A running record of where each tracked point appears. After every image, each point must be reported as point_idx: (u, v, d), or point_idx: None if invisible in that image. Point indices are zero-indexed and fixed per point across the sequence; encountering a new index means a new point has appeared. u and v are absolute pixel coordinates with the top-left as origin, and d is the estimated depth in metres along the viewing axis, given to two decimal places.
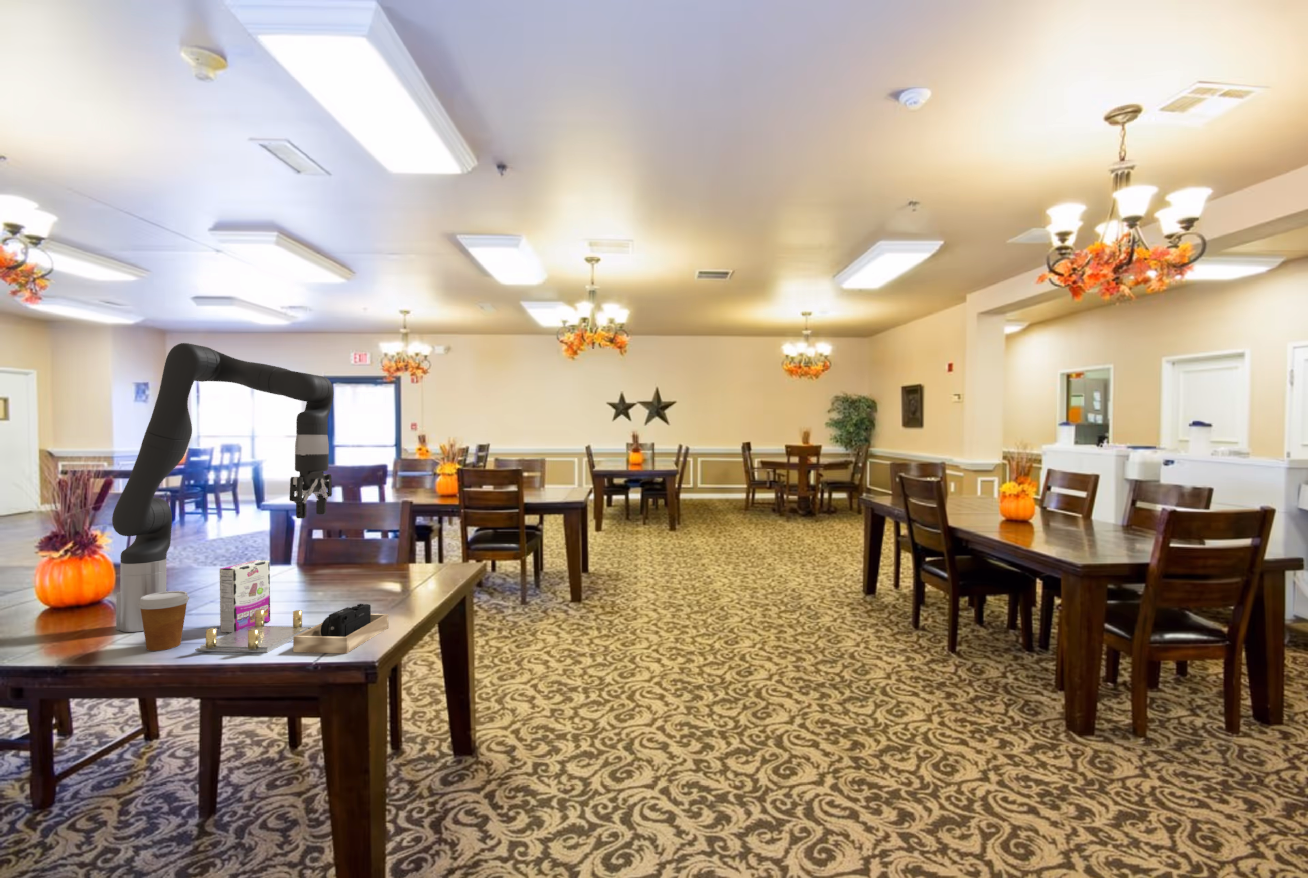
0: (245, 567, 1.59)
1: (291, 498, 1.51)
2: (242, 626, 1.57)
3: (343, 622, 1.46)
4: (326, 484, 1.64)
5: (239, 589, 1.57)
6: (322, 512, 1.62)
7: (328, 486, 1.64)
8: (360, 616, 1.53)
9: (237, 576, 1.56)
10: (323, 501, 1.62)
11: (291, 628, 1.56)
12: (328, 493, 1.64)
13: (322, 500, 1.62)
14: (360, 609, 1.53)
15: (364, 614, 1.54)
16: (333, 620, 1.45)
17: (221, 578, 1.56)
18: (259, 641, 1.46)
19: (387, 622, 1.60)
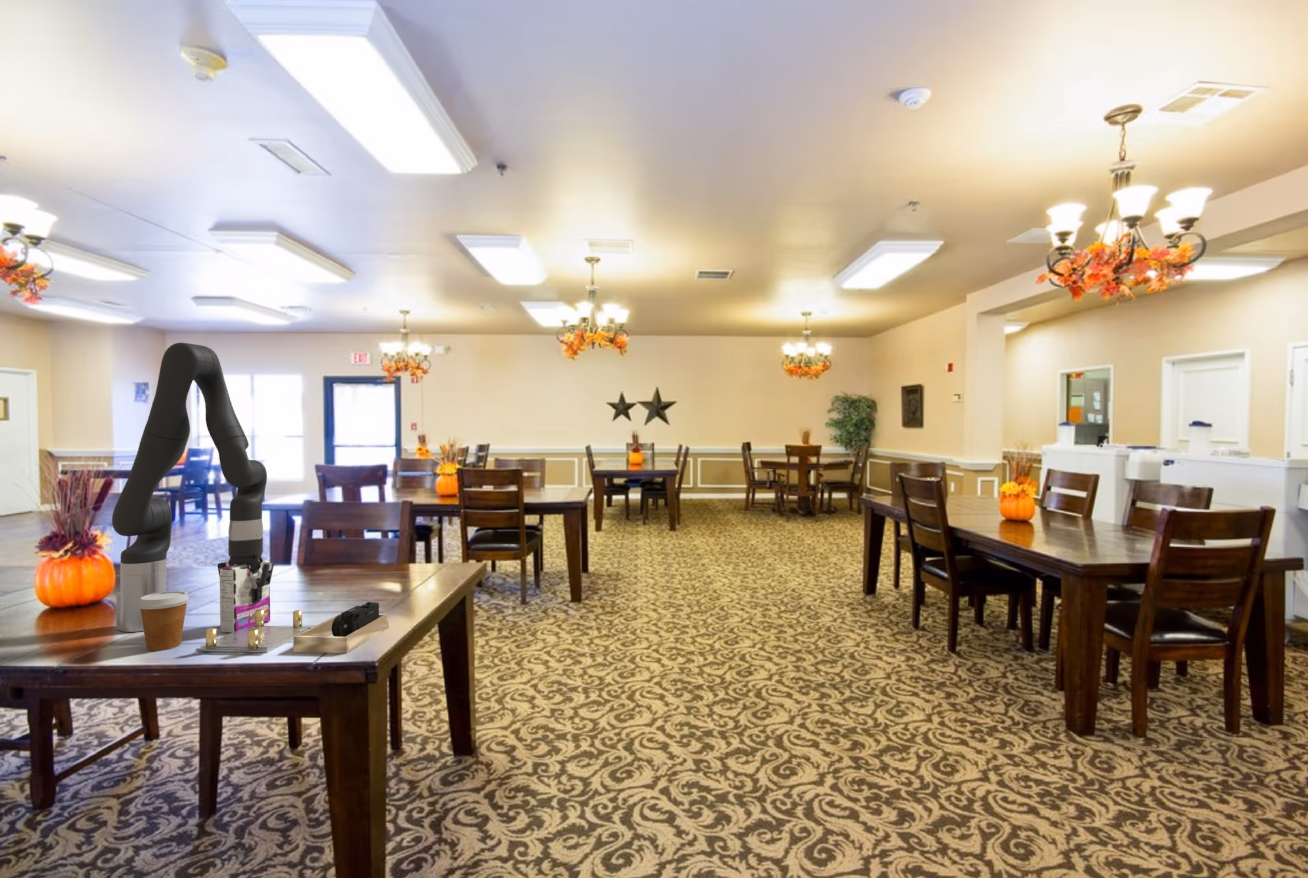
0: (245, 567, 1.59)
1: (264, 583, 1.60)
2: (242, 626, 1.57)
3: (355, 620, 1.48)
4: None
5: (239, 589, 1.57)
6: None
7: None
8: (370, 614, 1.54)
9: (237, 576, 1.56)
10: None
11: (291, 628, 1.56)
12: None
13: None
14: (370, 607, 1.54)
15: (373, 612, 1.56)
16: (346, 618, 1.46)
17: (221, 578, 1.56)
18: (259, 641, 1.46)
19: (387, 622, 1.60)
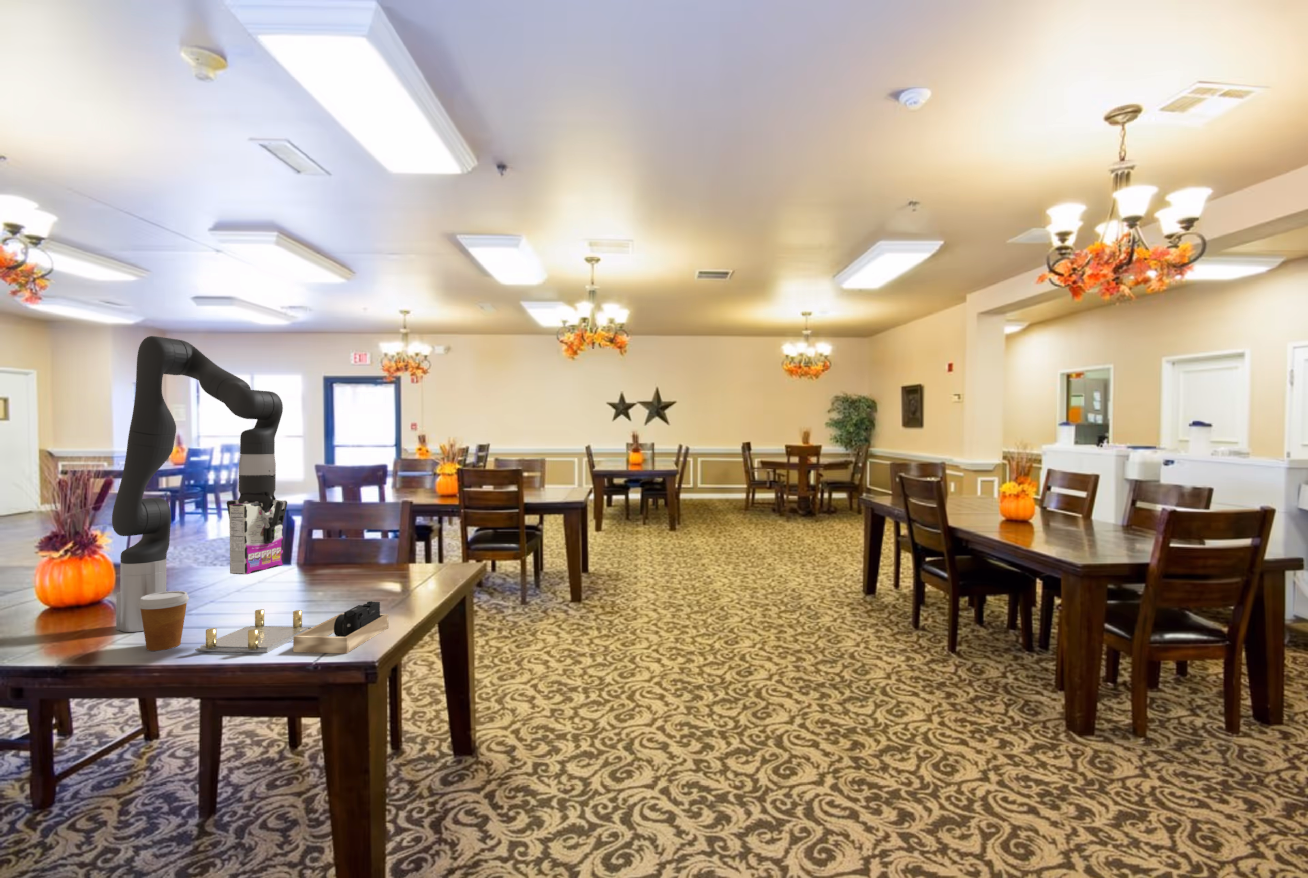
0: (257, 504, 1.47)
1: (277, 522, 1.49)
2: (253, 567, 1.46)
3: (358, 619, 1.49)
4: None
5: (250, 527, 1.45)
6: None
7: None
8: (372, 613, 1.55)
9: (249, 513, 1.45)
10: None
11: (291, 628, 1.56)
12: None
13: None
14: (372, 606, 1.55)
15: (375, 611, 1.57)
16: (349, 617, 1.47)
17: (231, 515, 1.45)
18: (259, 641, 1.46)
19: (387, 622, 1.60)
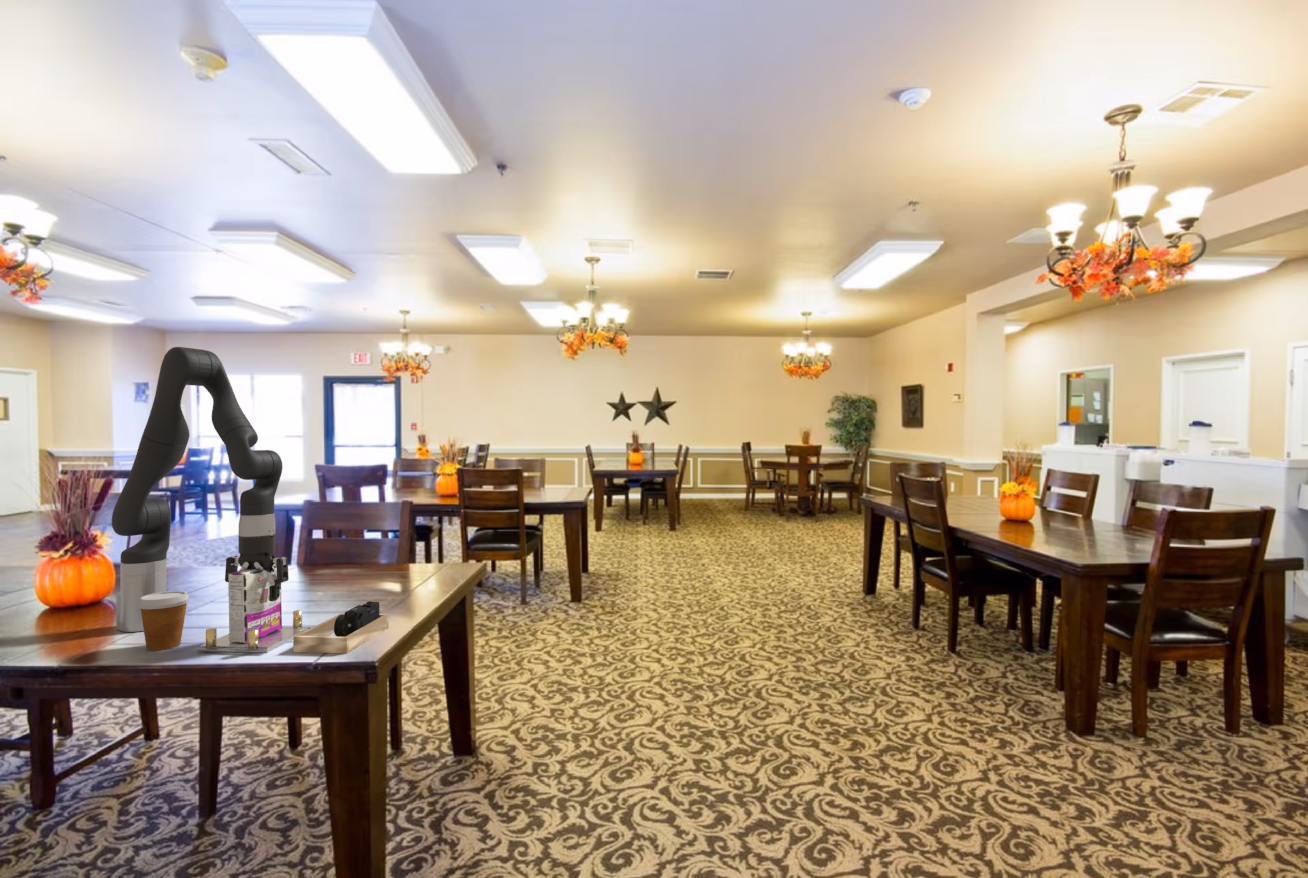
0: (256, 571, 1.47)
1: (283, 579, 1.49)
2: None
3: (359, 619, 1.49)
4: (235, 567, 1.51)
5: (249, 595, 1.45)
6: None
7: (237, 569, 1.51)
8: (372, 613, 1.55)
9: (248, 582, 1.45)
10: None
11: (291, 628, 1.56)
12: None
13: None
14: (372, 606, 1.55)
15: (374, 611, 1.57)
16: (350, 617, 1.47)
17: (230, 583, 1.45)
18: (259, 641, 1.46)
19: (387, 622, 1.60)
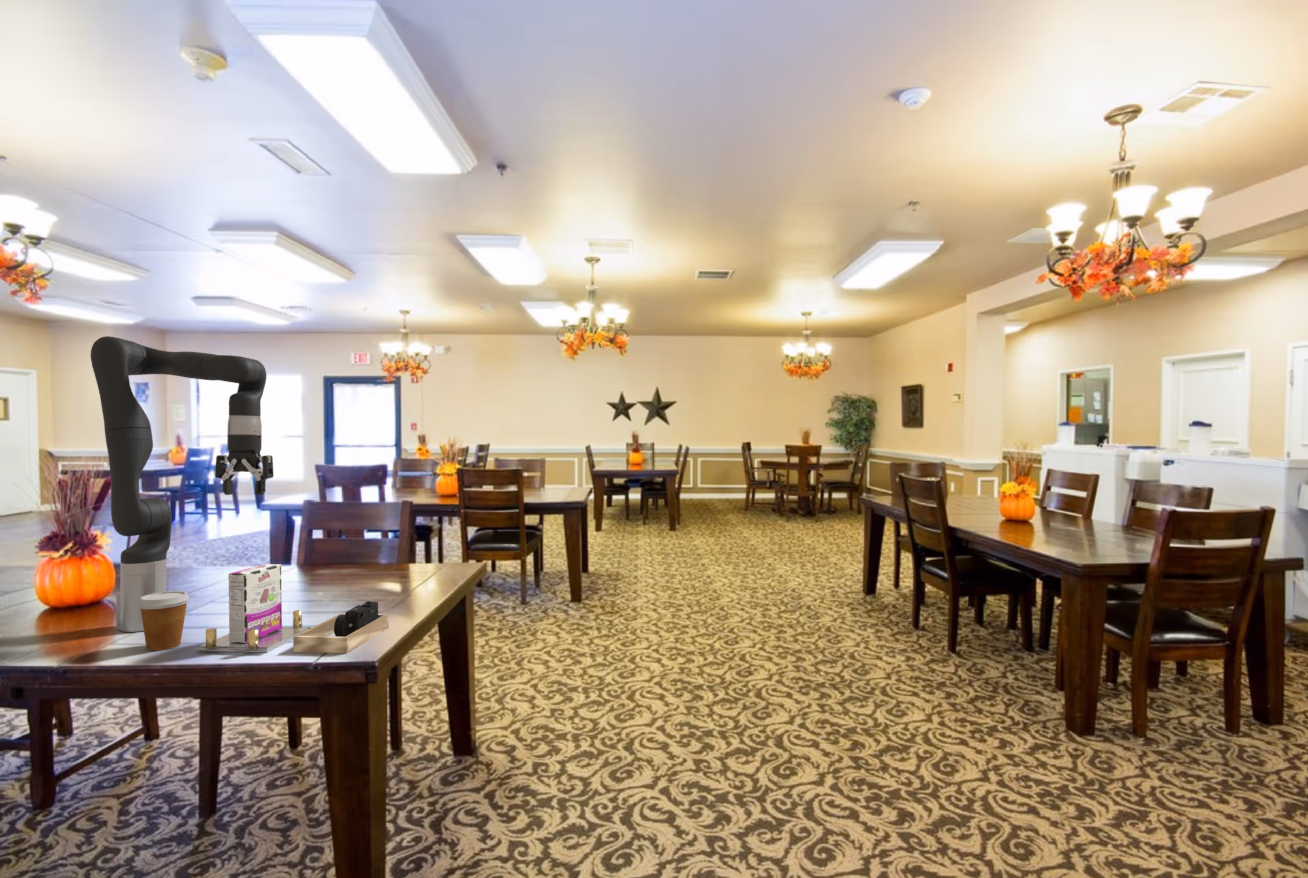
0: (256, 572, 1.47)
1: (268, 475, 1.62)
2: None
3: (360, 619, 1.49)
4: (224, 465, 1.64)
5: (249, 595, 1.45)
6: (231, 492, 1.64)
7: (226, 467, 1.65)
8: (371, 613, 1.55)
9: (248, 582, 1.45)
10: (232, 481, 1.65)
11: (291, 628, 1.56)
12: (225, 474, 1.65)
13: (231, 480, 1.64)
14: (371, 606, 1.55)
15: (374, 611, 1.57)
16: (351, 617, 1.47)
17: (231, 583, 1.45)
18: (259, 641, 1.46)
19: (387, 622, 1.60)
